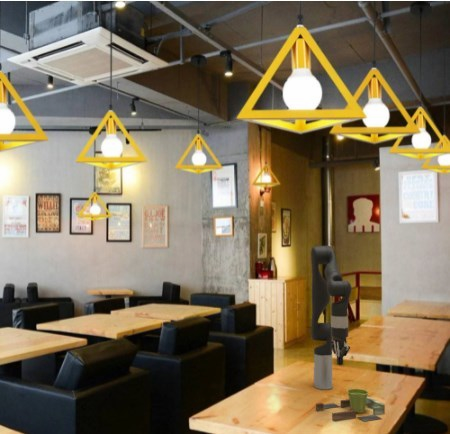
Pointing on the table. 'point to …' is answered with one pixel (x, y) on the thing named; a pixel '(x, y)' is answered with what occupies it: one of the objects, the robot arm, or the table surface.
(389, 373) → the table surface
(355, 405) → the plant pot
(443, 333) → the table surface
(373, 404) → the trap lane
